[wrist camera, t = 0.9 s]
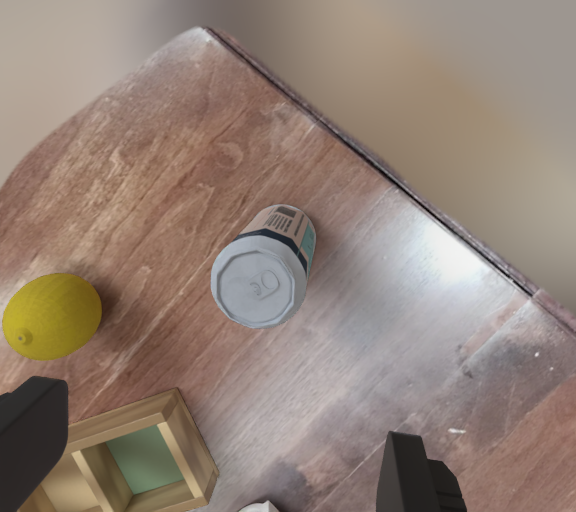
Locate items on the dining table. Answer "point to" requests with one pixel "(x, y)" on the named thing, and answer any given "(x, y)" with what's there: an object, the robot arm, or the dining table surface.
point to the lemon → (52, 316)
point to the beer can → (265, 268)
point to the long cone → (260, 507)
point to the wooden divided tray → (131, 462)
